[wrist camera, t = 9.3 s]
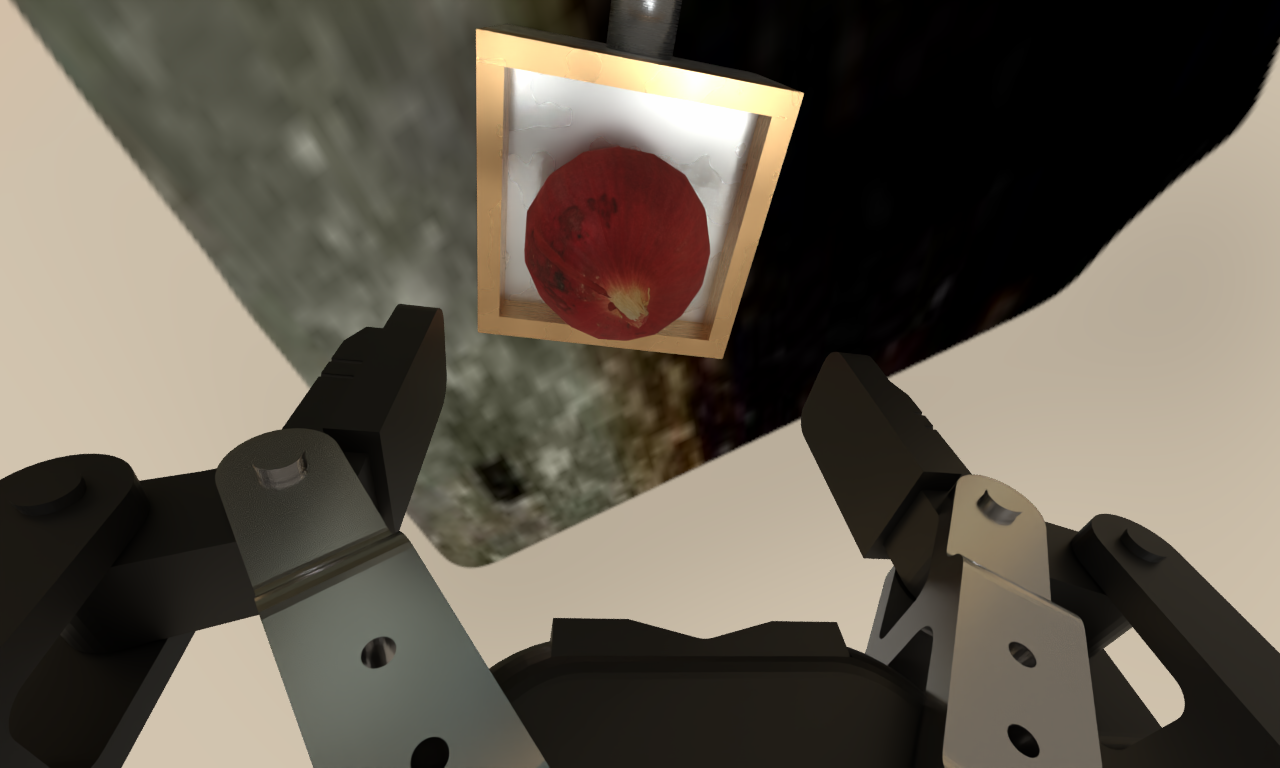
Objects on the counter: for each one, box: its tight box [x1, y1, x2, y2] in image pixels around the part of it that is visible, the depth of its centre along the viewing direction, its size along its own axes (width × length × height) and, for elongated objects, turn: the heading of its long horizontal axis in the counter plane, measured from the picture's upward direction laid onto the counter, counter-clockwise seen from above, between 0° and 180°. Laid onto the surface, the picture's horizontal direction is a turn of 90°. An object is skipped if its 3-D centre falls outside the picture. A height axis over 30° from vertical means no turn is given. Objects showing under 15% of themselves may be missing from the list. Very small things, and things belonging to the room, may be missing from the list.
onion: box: [524, 146, 710, 341], centre depth 16 cm, size 6×6×8 cm
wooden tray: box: [476, 0, 804, 359], centre depth 20 cm, size 13×10×6 cm
